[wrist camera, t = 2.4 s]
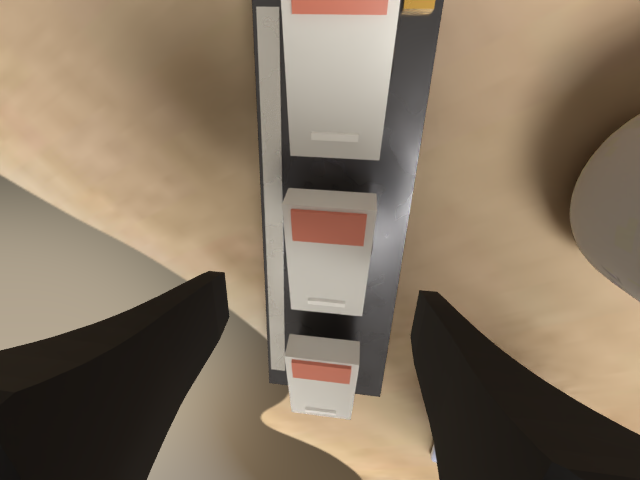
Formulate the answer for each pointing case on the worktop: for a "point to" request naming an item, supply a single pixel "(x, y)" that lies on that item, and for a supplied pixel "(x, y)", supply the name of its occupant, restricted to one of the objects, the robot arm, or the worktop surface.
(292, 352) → the block
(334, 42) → the rocker
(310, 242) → the block
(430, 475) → the worktop surface
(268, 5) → the switch panel
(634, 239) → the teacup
